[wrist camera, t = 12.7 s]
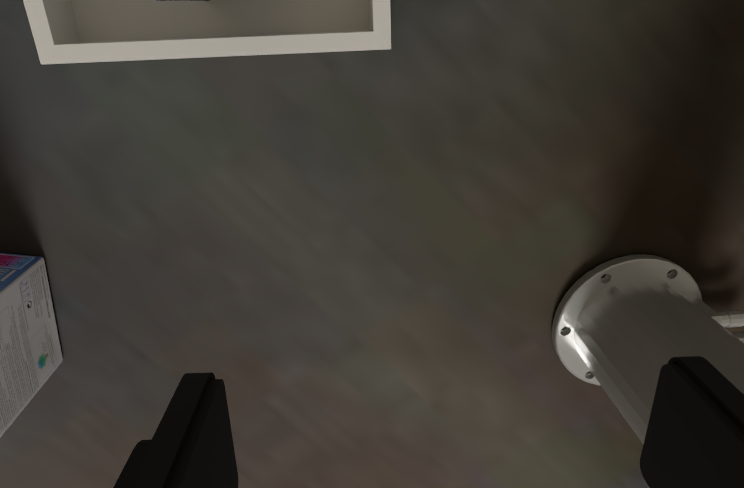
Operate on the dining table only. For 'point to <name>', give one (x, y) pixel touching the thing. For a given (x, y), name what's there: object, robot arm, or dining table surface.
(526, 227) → the dining table surface
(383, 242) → the dining table surface
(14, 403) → the ink cartridge box
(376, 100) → the dining table surface
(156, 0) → the small box
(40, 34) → the tray
